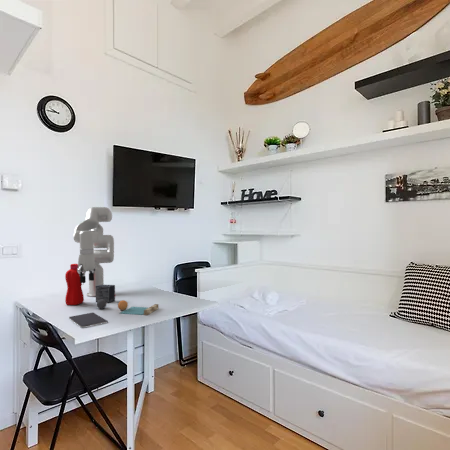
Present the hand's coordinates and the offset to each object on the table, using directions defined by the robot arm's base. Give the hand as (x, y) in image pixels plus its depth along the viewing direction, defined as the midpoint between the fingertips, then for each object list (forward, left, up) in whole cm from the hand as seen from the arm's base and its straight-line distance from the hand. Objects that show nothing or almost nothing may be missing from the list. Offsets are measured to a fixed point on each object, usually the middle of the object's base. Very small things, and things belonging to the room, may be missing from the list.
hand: (87, 281), depth 191 cm
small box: (-16, +2, -16) cm, 23 cm away
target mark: (0, +33, -16) cm, 36 cm away
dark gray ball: (0, +10, -13) cm, 16 cm away
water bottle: (-7, -13, -16) cm, 22 cm away
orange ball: (0, +24, -13) cm, 27 cm away
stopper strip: (0, +42, -16) cm, 44 cm away
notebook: (+22, +17, -17) cm, 32 cm away
